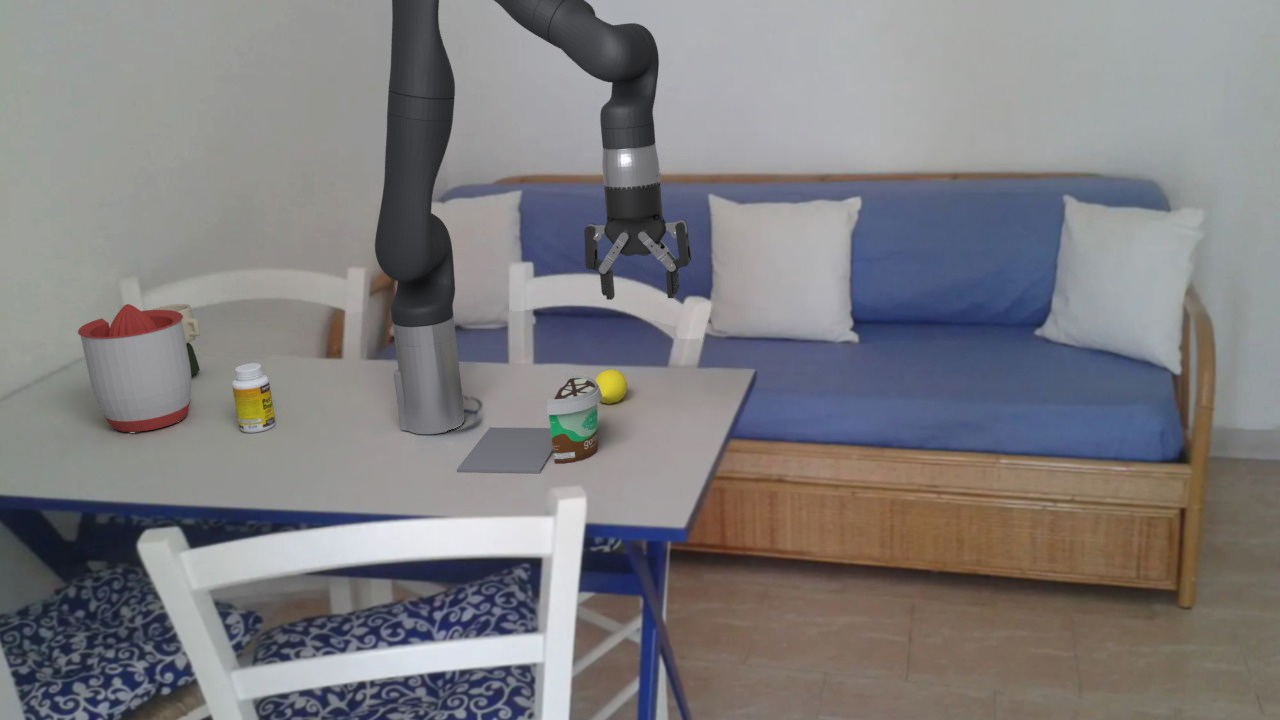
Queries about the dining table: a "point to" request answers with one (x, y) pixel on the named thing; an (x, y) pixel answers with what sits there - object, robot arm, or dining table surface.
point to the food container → (574, 419)
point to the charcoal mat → (510, 451)
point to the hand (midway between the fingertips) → (641, 297)
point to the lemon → (611, 386)
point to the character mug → (187, 330)
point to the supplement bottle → (253, 399)
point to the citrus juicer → (139, 368)
